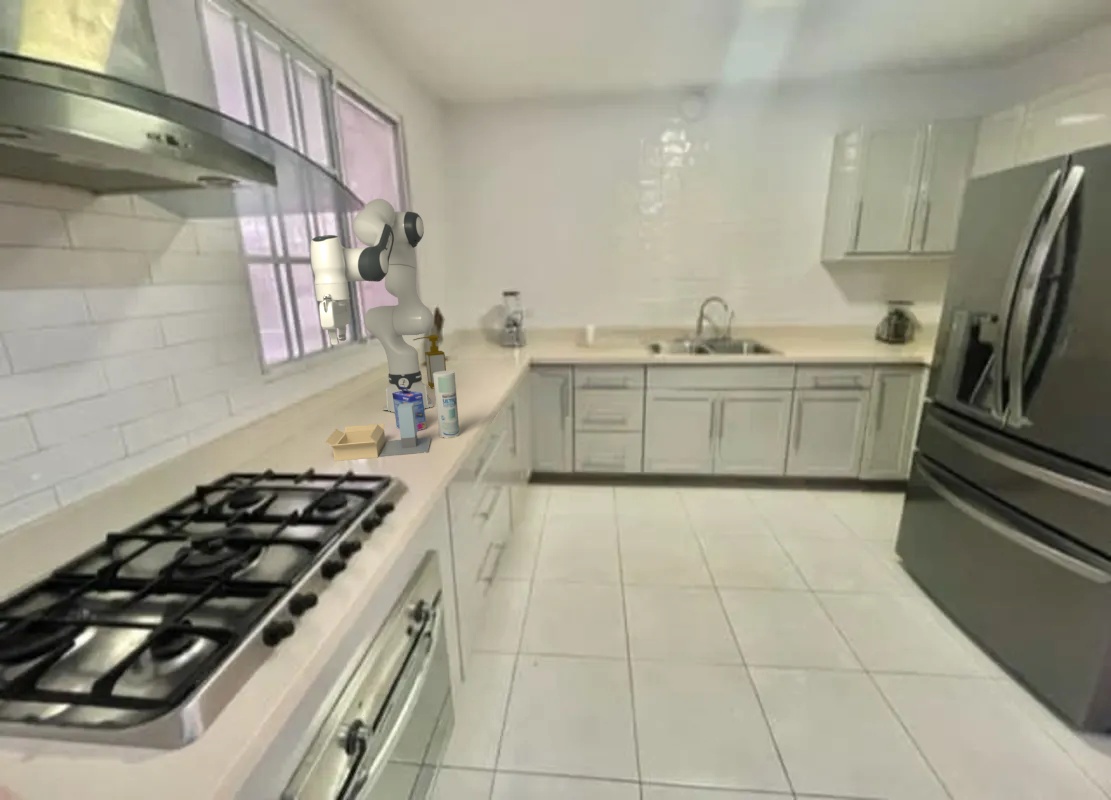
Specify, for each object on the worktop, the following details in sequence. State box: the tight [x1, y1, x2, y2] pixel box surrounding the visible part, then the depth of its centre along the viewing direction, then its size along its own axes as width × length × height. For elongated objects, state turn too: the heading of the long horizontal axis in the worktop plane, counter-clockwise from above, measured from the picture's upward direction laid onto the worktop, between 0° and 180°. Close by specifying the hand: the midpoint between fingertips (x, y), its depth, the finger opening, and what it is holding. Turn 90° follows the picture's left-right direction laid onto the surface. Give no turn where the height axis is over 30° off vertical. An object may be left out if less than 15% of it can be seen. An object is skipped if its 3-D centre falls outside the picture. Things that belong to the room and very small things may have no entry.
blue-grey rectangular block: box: [397, 403, 418, 448], centre depth 158 cm, size 5×4×12 cm
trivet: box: [379, 436, 432, 457], centre depth 159 cm, size 13×13×1 cm
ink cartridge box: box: [392, 386, 427, 432], centre depth 178 cm, size 10×6×14 cm, turn 51°
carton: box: [324, 423, 386, 462], centre depth 157 cm, size 19×14×6 cm
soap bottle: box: [412, 334, 447, 388], centre depth 243 cm, size 7×13×24 cm, turn 115°
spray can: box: [433, 370, 460, 438], centre depth 167 cm, size 6×6×20 cm
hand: (339, 342), depth 158 cm, fingers open, 8 cm apart
